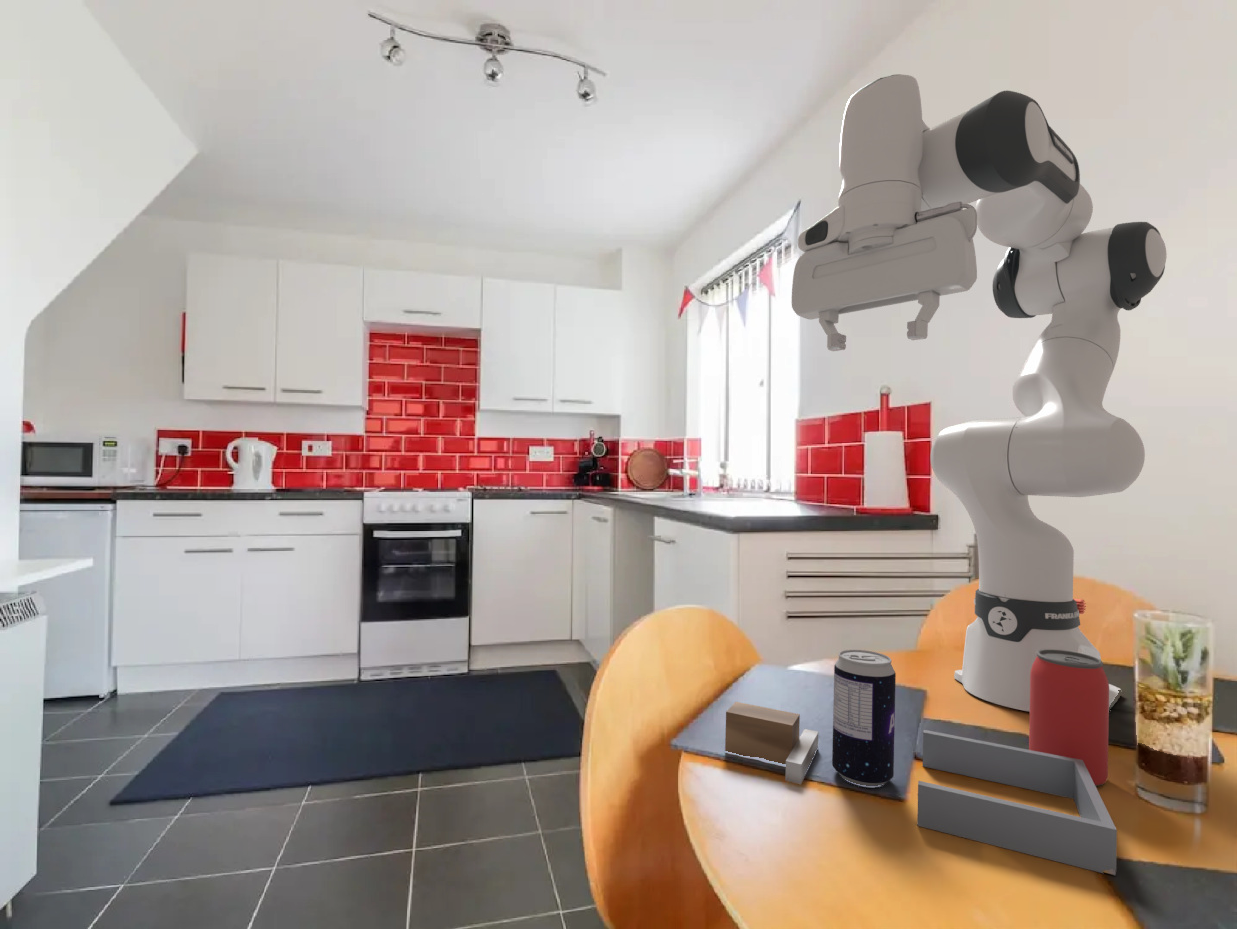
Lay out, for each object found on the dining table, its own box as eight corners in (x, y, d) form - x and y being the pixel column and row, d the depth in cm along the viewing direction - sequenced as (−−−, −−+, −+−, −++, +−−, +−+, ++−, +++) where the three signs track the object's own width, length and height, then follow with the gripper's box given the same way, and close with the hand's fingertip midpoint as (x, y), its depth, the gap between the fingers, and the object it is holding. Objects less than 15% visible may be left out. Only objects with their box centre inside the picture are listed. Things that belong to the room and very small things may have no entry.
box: (922, 763, 66) (923, 729, 66) (1082, 797, 60) (1082, 760, 60) (917, 825, 54) (918, 784, 54) (1116, 876, 48) (1116, 829, 48)
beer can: (1073, 793, 60) (1075, 667, 61) (1013, 762, 67) (1015, 649, 67) (1124, 786, 62) (1126, 664, 62) (1061, 757, 68) (1063, 646, 69)
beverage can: (899, 795, 59) (902, 667, 59) (836, 788, 60) (838, 662, 60) (886, 768, 65) (888, 651, 65) (828, 761, 66) (831, 646, 66)
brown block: (742, 733, 73) (742, 694, 73) (818, 750, 69) (818, 708, 69) (716, 764, 65) (717, 720, 65) (801, 785, 61) (802, 738, 61)
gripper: (988, 205, 66) (985, 336, 66) (813, 253, 81) (810, 359, 81) (965, 185, 62) (962, 324, 62) (786, 239, 77) (782, 351, 77)
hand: (874, 344), depth 71 cm, fingers open, 8 cm apart
